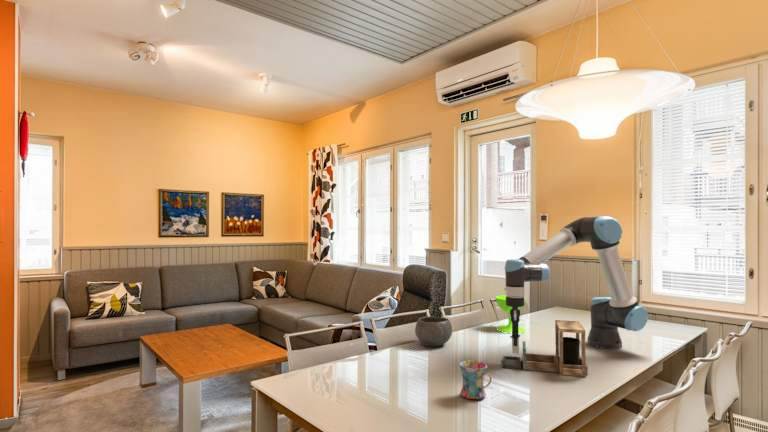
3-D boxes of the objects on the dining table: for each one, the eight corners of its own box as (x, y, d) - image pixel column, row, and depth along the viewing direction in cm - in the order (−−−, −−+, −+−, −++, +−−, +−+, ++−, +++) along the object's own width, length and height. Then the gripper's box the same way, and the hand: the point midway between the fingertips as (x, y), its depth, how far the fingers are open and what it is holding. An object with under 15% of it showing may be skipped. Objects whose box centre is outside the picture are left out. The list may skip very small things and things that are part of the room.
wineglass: (494, 326, 248) (494, 295, 248) (522, 327, 245) (522, 295, 246) (497, 333, 232) (497, 299, 232) (528, 334, 230) (527, 300, 230)
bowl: (410, 347, 204) (410, 320, 204) (421, 338, 220) (421, 313, 221) (447, 351, 197) (447, 324, 197) (455, 342, 214) (455, 316, 214)
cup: (579, 367, 175) (579, 337, 175) (581, 373, 168) (581, 342, 168) (559, 365, 178) (558, 336, 178) (560, 371, 170) (559, 340, 171)
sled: (582, 365, 177) (582, 345, 177) (587, 374, 165) (587, 353, 166) (522, 360, 184) (522, 341, 184) (523, 368, 172) (523, 348, 172)
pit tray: (520, 360, 184) (520, 357, 184) (520, 369, 172) (520, 365, 172) (503, 359, 186) (503, 355, 186) (502, 367, 174) (502, 364, 174)
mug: (453, 395, 146) (453, 364, 146) (470, 388, 152) (470, 358, 152) (482, 406, 136) (482, 373, 137) (499, 399, 142) (499, 367, 143)
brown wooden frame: (579, 364, 179) (578, 321, 180) (585, 377, 164) (585, 330, 164) (555, 362, 182) (555, 320, 182) (559, 374, 166) (559, 328, 167)
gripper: (505, 293, 187) (506, 348, 186) (505, 298, 174) (505, 356, 174) (523, 294, 185) (524, 349, 184) (524, 299, 172) (525, 358, 172)
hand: (515, 353), depth 179 cm, fingers closed
